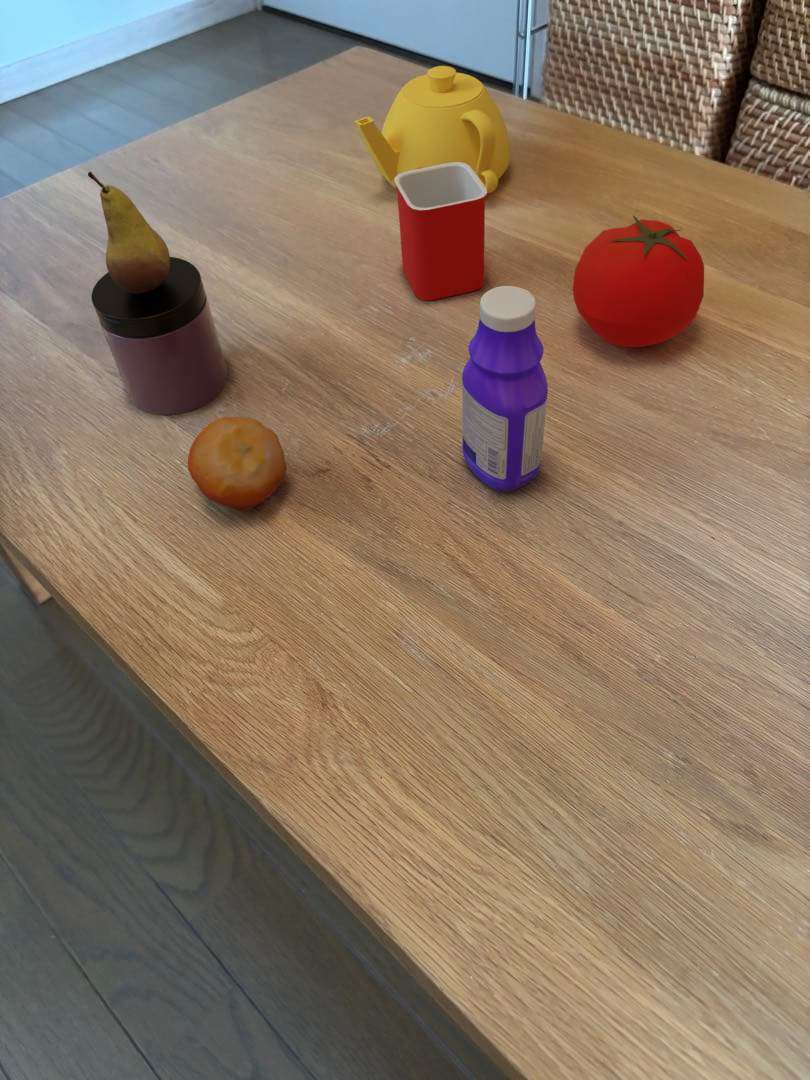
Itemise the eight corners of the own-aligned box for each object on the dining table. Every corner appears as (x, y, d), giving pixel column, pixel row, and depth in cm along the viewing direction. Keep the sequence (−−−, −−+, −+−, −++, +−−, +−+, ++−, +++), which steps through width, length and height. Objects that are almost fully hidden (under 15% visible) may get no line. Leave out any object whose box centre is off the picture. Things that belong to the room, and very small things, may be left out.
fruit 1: (189, 286, 78) (151, 155, 69) (133, 312, 76) (85, 181, 67) (160, 261, 81) (120, 132, 72) (104, 286, 79) (55, 157, 69)
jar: (119, 418, 84) (82, 328, 76) (137, 354, 90) (104, 265, 82) (222, 411, 83) (195, 321, 75) (232, 347, 90) (208, 257, 82)
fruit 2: (223, 428, 79) (241, 386, 73) (286, 487, 80) (310, 450, 73) (160, 482, 75) (172, 442, 69) (227, 544, 76) (246, 511, 69)
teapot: (461, 133, 117) (460, 30, 108) (547, 188, 107) (554, 80, 97) (333, 178, 111) (319, 74, 102) (410, 242, 101) (403, 132, 91)
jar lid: (86, 340, 77) (79, 322, 75) (109, 277, 83) (102, 259, 82) (197, 333, 76) (192, 315, 75) (211, 270, 83) (207, 252, 81)
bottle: (553, 477, 75) (570, 307, 62) (501, 507, 73) (507, 338, 60) (501, 432, 79) (506, 264, 66) (451, 459, 77) (446, 291, 64)
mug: (490, 289, 94) (492, 196, 85) (418, 305, 92) (412, 213, 84) (455, 234, 101) (454, 144, 93) (388, 248, 100) (380, 158, 92)
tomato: (693, 373, 83) (717, 276, 75) (563, 363, 85) (573, 268, 77) (692, 293, 91) (714, 198, 83) (574, 285, 93) (583, 192, 85)
